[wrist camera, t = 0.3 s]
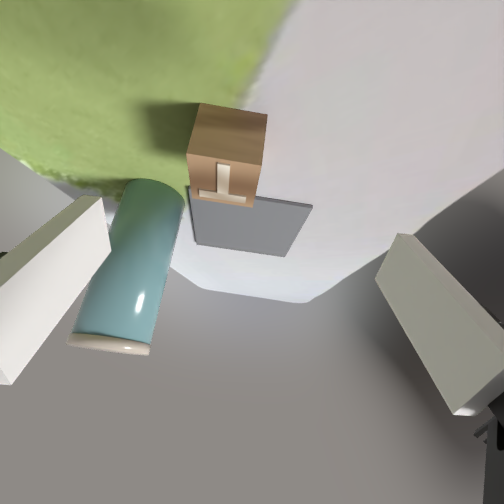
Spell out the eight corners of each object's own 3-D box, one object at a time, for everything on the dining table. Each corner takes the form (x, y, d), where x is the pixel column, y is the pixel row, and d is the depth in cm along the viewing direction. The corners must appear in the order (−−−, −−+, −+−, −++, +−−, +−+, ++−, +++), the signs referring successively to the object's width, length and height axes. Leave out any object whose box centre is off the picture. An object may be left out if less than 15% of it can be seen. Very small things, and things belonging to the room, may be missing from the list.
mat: (189, 185, 35) (188, 188, 35) (312, 205, 36) (312, 208, 36) (197, 241, 49) (196, 244, 49) (284, 254, 50) (284, 257, 50)
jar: (115, 173, 34) (48, 340, 26) (182, 183, 35) (137, 351, 26) (133, 209, 42) (86, 348, 33) (188, 218, 42) (155, 357, 34)
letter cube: (200, 102, 24) (185, 155, 22) (267, 114, 25) (261, 167, 22) (203, 152, 30) (191, 199, 27) (258, 161, 30) (252, 209, 27)
